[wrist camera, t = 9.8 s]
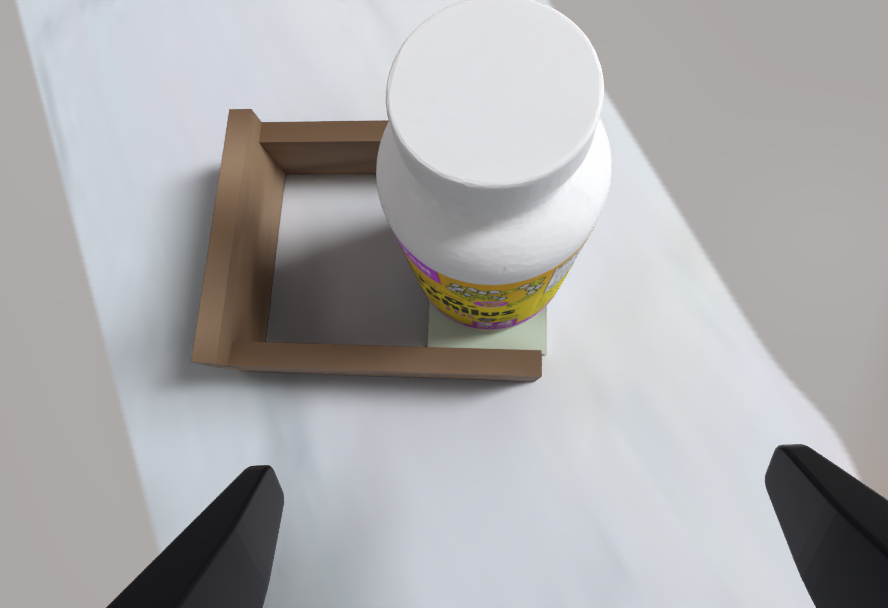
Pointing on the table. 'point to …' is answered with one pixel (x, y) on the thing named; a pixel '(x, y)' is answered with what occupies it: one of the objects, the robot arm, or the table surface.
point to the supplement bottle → (494, 157)
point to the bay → (253, 259)
